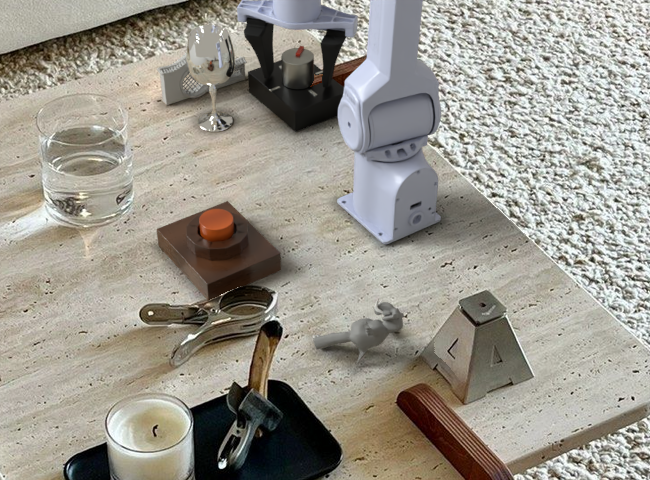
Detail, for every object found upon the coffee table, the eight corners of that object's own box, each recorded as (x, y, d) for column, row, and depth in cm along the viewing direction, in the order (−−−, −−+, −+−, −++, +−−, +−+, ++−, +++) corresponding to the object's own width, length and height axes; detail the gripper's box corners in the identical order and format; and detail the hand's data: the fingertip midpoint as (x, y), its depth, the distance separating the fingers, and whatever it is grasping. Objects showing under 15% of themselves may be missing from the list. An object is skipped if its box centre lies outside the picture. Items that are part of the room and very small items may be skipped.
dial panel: (349, 112, 149) (350, 90, 147) (294, 132, 146) (294, 110, 143) (301, 73, 155) (301, 51, 153) (247, 92, 152) (246, 70, 150)
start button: (240, 234, 126) (239, 221, 125) (211, 247, 124) (210, 233, 123) (223, 217, 128) (222, 204, 127) (194, 229, 126) (192, 216, 125)
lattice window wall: (241, 75, 155) (239, 34, 151) (248, 81, 154) (246, 40, 150) (159, 101, 151) (155, 60, 147) (165, 108, 150) (161, 66, 145)
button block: (281, 270, 127) (280, 241, 124) (208, 301, 124) (206, 272, 121) (228, 217, 134) (226, 188, 131) (158, 246, 130) (154, 217, 127)
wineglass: (244, 129, 146) (240, 41, 138) (200, 138, 145) (193, 50, 136) (229, 105, 150) (224, 18, 142) (186, 114, 149) (178, 27, 140)
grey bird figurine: (324, 313, 123) (408, 294, 120) (336, 369, 123) (420, 352, 120) (294, 315, 113) (384, 295, 110) (307, 377, 113) (398, 358, 110)
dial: (308, 91, 147) (308, 64, 144) (277, 86, 147) (277, 59, 145) (317, 75, 149) (317, 48, 147) (287, 70, 150) (286, 43, 147)
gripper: (365, -31, 140) (362, 70, 149) (248, -47, 143) (252, 54, 152) (350, -3, 135) (347, 100, 145) (229, -20, 138) (234, 83, 147)
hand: (297, 78), depth 148 cm, fingers open, 7 cm apart
